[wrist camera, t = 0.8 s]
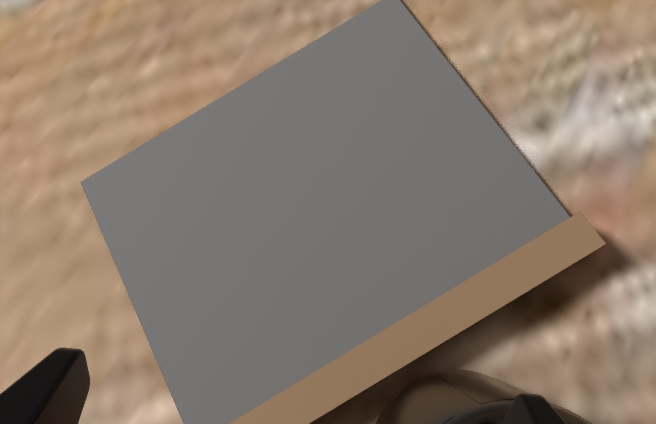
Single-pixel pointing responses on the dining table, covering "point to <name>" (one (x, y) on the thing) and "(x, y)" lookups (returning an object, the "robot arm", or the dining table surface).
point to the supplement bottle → (456, 400)
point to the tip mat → (326, 226)
